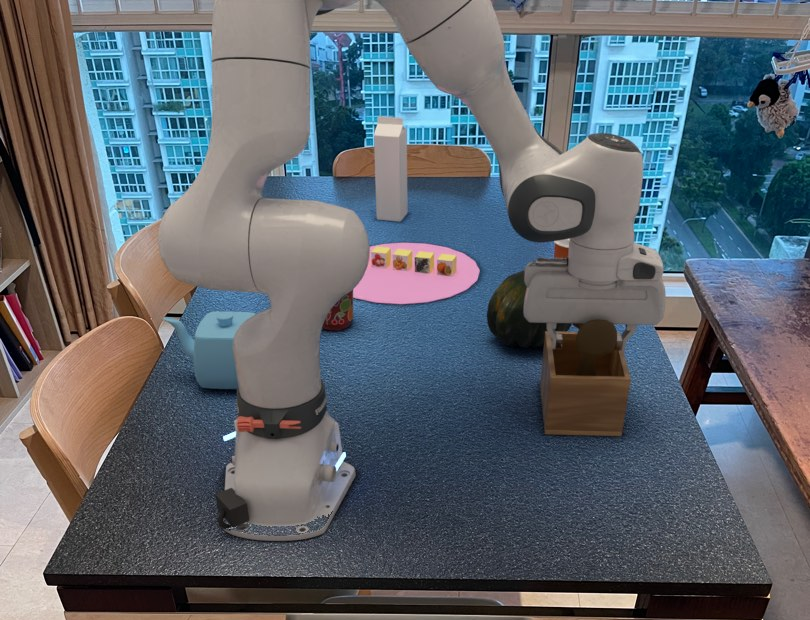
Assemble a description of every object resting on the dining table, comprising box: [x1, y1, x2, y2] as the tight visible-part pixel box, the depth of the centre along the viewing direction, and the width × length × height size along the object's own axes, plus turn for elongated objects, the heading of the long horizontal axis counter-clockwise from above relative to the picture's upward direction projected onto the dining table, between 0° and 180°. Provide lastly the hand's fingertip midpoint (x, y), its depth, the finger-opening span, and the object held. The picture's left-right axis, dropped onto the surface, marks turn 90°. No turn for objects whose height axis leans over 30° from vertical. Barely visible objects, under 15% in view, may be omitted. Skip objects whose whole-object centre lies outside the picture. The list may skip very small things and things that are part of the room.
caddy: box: [539, 331, 632, 437], centre depth 137 cm, size 15×12×10 cm
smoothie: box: [322, 290, 354, 331], centre depth 159 cm, size 8×8×20 cm
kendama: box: [571, 319, 618, 376], centre depth 133 cm, size 6×10×20 cm, turn 179°
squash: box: [486, 269, 573, 349], centre depth 155 cm, size 14×15×15 cm
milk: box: [373, 115, 409, 223], centre depth 202 cm, size 6×6×22 cm
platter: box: [353, 242, 481, 306], centre depth 182 cm, size 32×32×3 cm
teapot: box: [162, 311, 257, 390], centre depth 146 cm, size 12×18×12 cm
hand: (587, 348), depth 133 cm, fingers open, 8 cm apart
